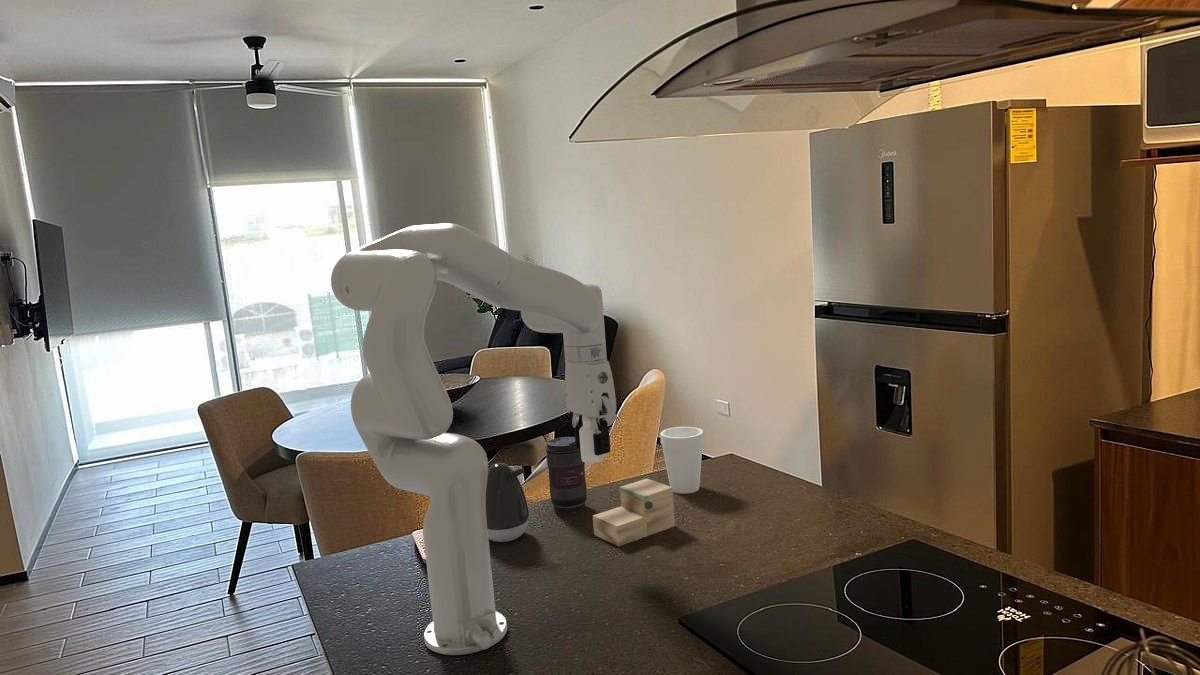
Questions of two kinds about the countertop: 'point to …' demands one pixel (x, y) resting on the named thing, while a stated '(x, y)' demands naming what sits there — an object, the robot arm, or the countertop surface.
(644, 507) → the wooden step block
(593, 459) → the salt shaker
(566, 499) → the camera lens
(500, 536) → the pump dispenser
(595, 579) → the countertop surface
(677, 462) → the foam cup
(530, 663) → the countertop surface
